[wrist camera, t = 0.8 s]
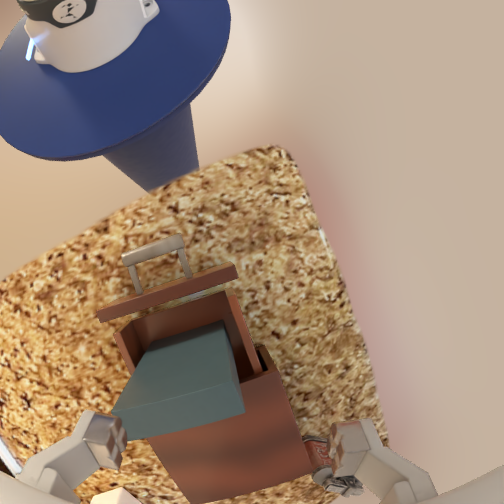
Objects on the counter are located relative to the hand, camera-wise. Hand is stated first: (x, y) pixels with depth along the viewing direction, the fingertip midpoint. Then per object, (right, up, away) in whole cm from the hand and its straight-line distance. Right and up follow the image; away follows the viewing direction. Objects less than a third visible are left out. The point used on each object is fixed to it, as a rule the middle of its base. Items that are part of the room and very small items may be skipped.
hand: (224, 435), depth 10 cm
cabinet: (-2, -13, +24) cm, 27 cm away
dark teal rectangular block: (-5, -2, +21) cm, 22 cm away
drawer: (-6, -1, +22) cm, 23 cm away
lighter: (+11, -20, +26) cm, 34 cm away
